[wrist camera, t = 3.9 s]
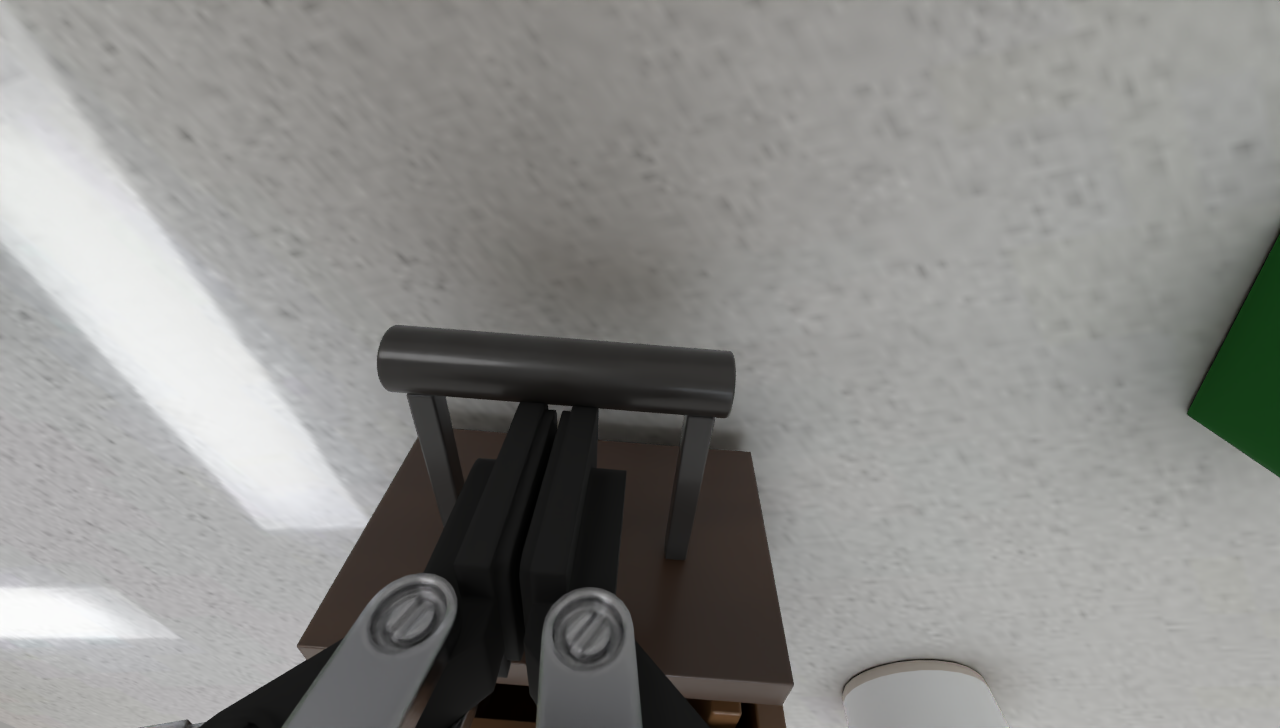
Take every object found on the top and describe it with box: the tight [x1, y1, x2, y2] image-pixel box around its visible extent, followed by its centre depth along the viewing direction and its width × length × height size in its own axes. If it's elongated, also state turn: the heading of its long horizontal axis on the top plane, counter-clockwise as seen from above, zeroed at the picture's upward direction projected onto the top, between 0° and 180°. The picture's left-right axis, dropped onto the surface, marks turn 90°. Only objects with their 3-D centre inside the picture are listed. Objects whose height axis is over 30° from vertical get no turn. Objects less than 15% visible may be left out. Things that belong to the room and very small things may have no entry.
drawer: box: [297, 325, 794, 728], centre depth 17 cm, size 22×11×7 cm, turn 176°
